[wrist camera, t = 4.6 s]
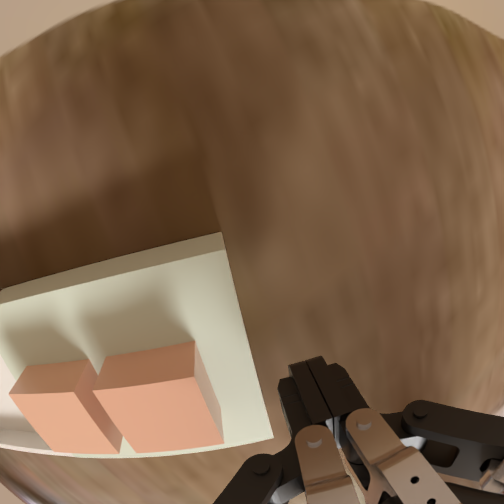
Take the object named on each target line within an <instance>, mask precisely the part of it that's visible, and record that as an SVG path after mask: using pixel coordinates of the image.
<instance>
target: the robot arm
mask: <svg viewBox="0 0 504 504" xmlns="http://www.w3.org/2000/svg"><path fill="white" fill-rule="evenodd" d="M288 369H289V375H290V377H287V378H283V379H280V381H279V385H278V393H279V397H280V402H281V407H282V411H283V414H284V417H285V420H286V423H287V426H288V430H289V433H290V436H291V442H290V443H289V445H288V446H287V447H286V448H285V449H283V450H282V451H280V452H278V453H277V454H275V455H270V454H257V455H254V456H252V457H250V458H248V459H247V460H246V461H245V462H244V464H243V465H242V466H241V468H240V469H239V470H238V472H237V473H236V475H235V476H234V477H233V479H232V480H231V481H230V483H229V484H228V485H227V486H226V488H225V489H224V490H223V492H222V493H221V494H220V495H219V497H218V498H217V499H216V501H215V502H214V503H213V504H288V502H289V500H290V499H292V498H294V497H295V496H297V495H299V494H301V493H302V492H304V491H305V496H306V500H307V504H360V502H359V500H358V497H357V494H356V491H355V488H354V485H353V482H352V480H351V478H350V476H349V475H347V474H346V471H345V468H344V465H343V462H342V459H341V457H340V454H339V451H338V449H340V448H342V450H343V452H344V454H345V456H344V460H345V463H346V465H347V467H348V469H349V470H350V472H351V474H352V475H353V477H354V479H355V481H356V482H357V484H358V486H359V487H360V489H361V491H362V493H363V495H364V497H365V502H366V504H504V417H500V416H495V415H489V414H484V413H479V412H474V411H469V410H464V409H459V408H455V407H450V406H446V405H442V404H438V403H433V402H429V401H425V400H417V401H414V402H411V403H410V404H408V405H407V406H406V407H405V409H404V411H403V412H398V413H391V414H381V413H378V412H377V411H376V410H373V409H371V408H369V406H368V405H367V403H366V402H365V400H364V399H363V397H362V395H361V394H360V392H359V391H358V389H357V387H356V386H355V384H354V383H353V381H352V380H351V378H350V377H349V375H348V373H347V372H346V370H345V369H344V368H343V367H341V366H340V365H338V364H337V363H334V364H331V365H328V366H327V364H326V362H325V360H324V359H323V357H322V356H318V357H315V358H312V359H308V360H305V361H302V362H298V363H294V364H291V365H288Z"/></svg>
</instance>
